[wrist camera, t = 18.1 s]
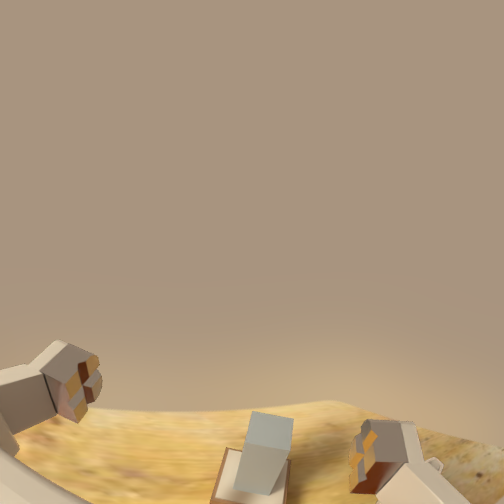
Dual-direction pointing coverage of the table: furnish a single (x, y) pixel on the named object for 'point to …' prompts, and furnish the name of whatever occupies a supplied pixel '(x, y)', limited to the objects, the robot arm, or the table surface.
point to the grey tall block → (263, 453)
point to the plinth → (230, 500)
